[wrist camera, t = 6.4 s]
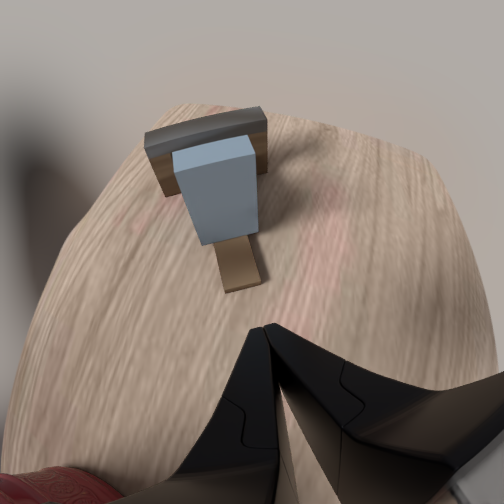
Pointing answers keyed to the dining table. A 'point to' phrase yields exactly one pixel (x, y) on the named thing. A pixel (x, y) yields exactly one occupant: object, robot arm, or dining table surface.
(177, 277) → the dining table surface
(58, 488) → the canister
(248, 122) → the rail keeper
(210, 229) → the light blue l-shaped block
